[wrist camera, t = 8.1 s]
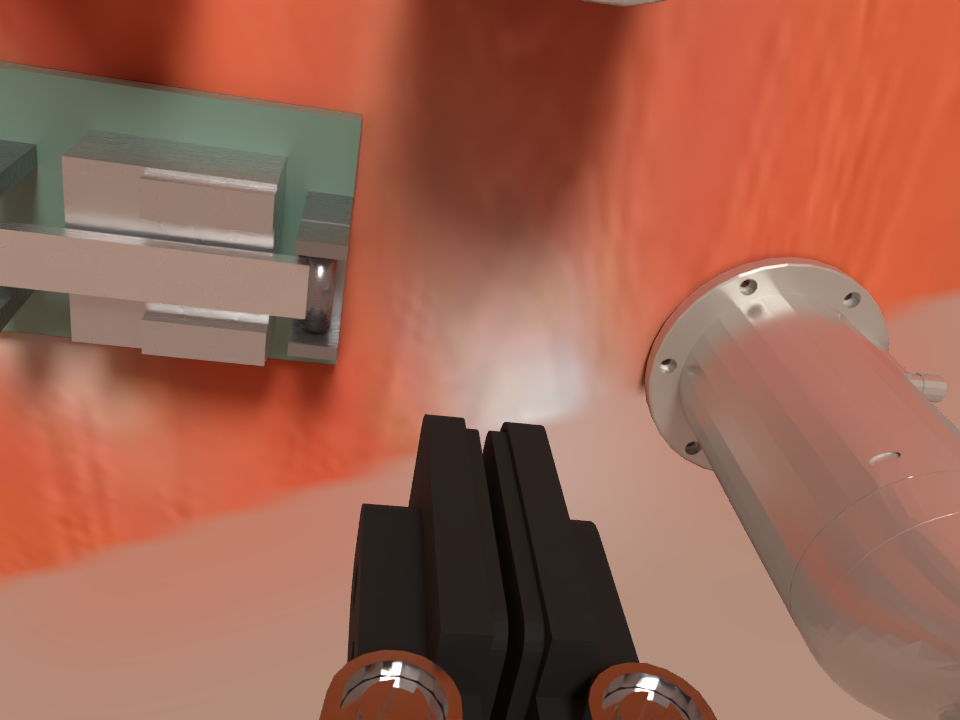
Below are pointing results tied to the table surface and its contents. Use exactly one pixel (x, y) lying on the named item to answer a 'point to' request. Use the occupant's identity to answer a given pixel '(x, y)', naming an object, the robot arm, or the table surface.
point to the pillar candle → (624, 2)
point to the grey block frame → (185, 238)
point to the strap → (167, 272)
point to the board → (170, 116)
